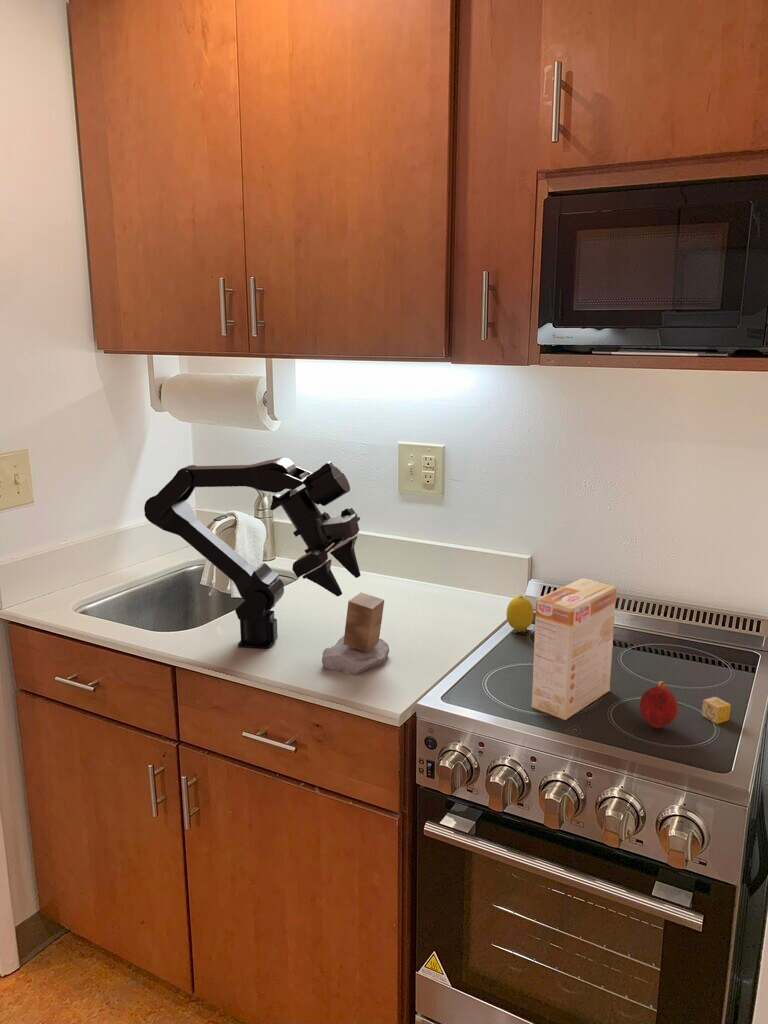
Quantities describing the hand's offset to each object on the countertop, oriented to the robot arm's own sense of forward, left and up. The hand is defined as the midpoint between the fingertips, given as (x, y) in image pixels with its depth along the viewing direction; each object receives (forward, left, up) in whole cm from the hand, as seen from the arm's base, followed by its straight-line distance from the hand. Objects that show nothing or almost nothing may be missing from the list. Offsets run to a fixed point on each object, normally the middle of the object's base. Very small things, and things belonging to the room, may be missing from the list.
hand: (349, 585), depth 157 cm
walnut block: (+3, -5, -10) cm, 11 cm away
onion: (+55, -22, -14) cm, 61 cm away
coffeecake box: (+42, -14, -14) cm, 46 cm away
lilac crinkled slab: (+3, -5, -14) cm, 15 cm away
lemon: (+33, +15, -14) cm, 38 cm away
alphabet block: (+65, -17, -14) cm, 68 cm away
